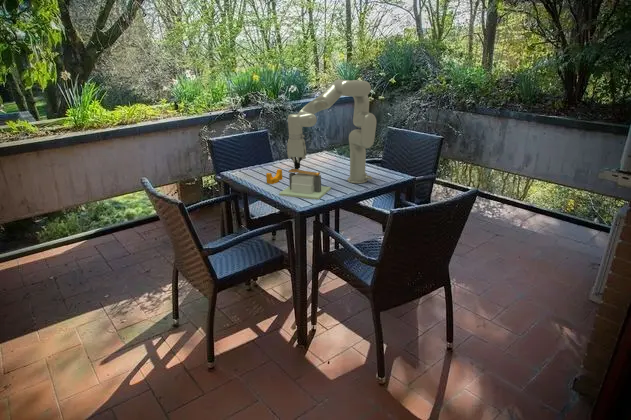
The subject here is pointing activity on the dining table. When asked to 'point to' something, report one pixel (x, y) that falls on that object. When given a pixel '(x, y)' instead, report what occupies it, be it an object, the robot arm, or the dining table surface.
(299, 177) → the board
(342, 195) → the dining table surface
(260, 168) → the dining table surface
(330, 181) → the dining table surface
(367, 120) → the robot arm
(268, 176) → the pipe clamp
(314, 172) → the strap
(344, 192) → the dining table surface
